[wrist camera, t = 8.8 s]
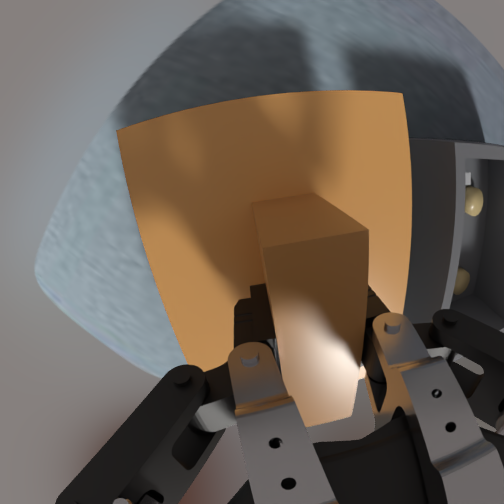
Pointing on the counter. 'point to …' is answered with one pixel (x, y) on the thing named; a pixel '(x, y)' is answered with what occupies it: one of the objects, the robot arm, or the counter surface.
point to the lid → (278, 226)
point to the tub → (456, 231)
